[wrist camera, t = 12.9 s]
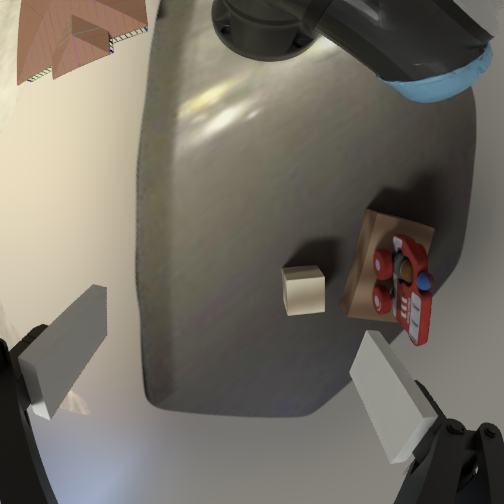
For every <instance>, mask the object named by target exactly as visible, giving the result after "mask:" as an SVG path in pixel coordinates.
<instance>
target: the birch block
mask: <svg viewBox="0 0 504 504" xmlns="http://www.w3.org/2000/svg"><path fill="white" fill-rule="evenodd" d="M282 278H283V298H284V303H285V307H286V311H287V314H288V315H298V314H307V313H316V312H325V276H324V275H323V273H322V272H321V271H320V269H319V268H318V266H317V265H310V266H299V267H288V268H282Z"/></svg>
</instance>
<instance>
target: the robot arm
mask: <svg viewBox="0 0 504 504" xmlns="http://www.w3.org/2000/svg"><path fill="white" fill-rule="evenodd" d="M503 7H504V0H214V1H213V5H212V12H211V14H212V21H213V26H214V29H215V32H216V34H217V36H218V37H219V39H220V40H221V41H222V42H223V43H224V44H225V45H226V46H227V47H228V48H229V49H230V50H232V51H233V52H235V53H237V54H239V55H241V56H243V57H246V58H249V59H252V60H257V61H265V62H274V61H283V60H287V59H290V58H293V57H296V56H298V55H300V54H302V53H303V52H305V51H306V50H307V49H308V48H310V47H311V46H312V44H313V43H314V42H315V40H316V39H317V37H318V35H319V34H321V35H323V36H324V37H326V38H327V39H329V40H331V41H332V42H333V43H335V44H336V45H338V46H339V47H341V48H342V49H344V50H345V51H346V52H348V53H349V54H351V55H352V56H353V57H355V58H356V59H357V60H359V61H360V62H361V63H363V64H364V65H365V66H367V67H368V68H369V69H371V70H372V71H373V72H374V73H376V76H377V77H378V78H379V79H380V80H381V81H383V82H385V83H387V84H389V85H391V86H392V87H393V88H395V89H396V90H397V91H398V92H400V93H401V94H402V95H403V96H405V97H406V98H408V99H410V100H412V101H416V102H420V103H432V102H438V101H441V100H444V99H447V98H450V97H452V96H454V95H456V94H458V93H460V92H462V91H464V90H465V89H467V88H468V87H470V86H471V85H472V84H473V83H475V82H476V81H477V80H478V75H479V74H481V73H484V72H485V71H486V70H487V69H488V67H489V65H490V63H491V60H492V56H493V53H492V49H491V46H490V42H489V41H490V40H491V39H492V38H493V37H495V36H496V35H497V34H498V21H497V15H498V11H499V10H500V9H502V8H503ZM106 291H107V288H106V287H102V286H98V285H94V284H93V285H92V286H91V287H90V288H89V289H87V290H86V291H85V292H84V293H83V294H82V295H81V296H80V297H79V298H78V299H77V300H75V301H74V302H73V303H72V304H71V305H70V306H69V307H68V308H67V309H66V310H65V311H64V312H63V313H62V314H61V315H60V316H59V317H58V318H56V320H54V321H53V322H52V324H50V325H49V326H48V325H45V324H41V325H40V326H37V327H35V328H33V329H32V330H31V331H30V332H29V333H28V334H27V336H25V337H24V338H22V341H19V342H18V343H17V344H16V345H15V346H14V347H13V348H12V349H11V350H10V351H8V346H7V344H6V342H5V341H4V340H3V339H1V338H0V501H1V504H58V502H57V500H56V497H55V495H54V493H53V490H52V488H51V485H50V483H49V480H48V478H47V475H46V472H45V469H44V466H43V463H42V460H41V458H40V454H39V451H38V448H37V445H36V442H35V438H34V435H33V431H32V427H31V424H30V420H29V416H28V413H27V410H26V409H27V408H28V406H29V405H30V404H31V405H32V408H33V410H34V413H35V414H37V415H39V416H41V417H44V418H46V419H49V420H51V419H52V417H53V416H54V414H55V412H56V411H57V409H58V408H59V406H60V404H61V403H62V401H63V400H64V398H65V397H66V395H67V393H68V392H69V390H70V389H71V387H72V386H73V384H74V383H75V381H76V380H77V378H78V377H79V375H80V374H81V372H82V371H83V369H84V368H85V366H86V365H87V363H88V362H89V360H90V359H91V357H92V356H93V354H94V353H95V352H96V350H97V349H98V347H99V346H100V344H101V343H102V341H103V340H104V339H105V337H106V336H107V308H106V307H107V306H106V304H107V303H106V300H107V292H106ZM349 373H350V375H351V377H352V379H353V381H354V383H355V385H356V388H357V390H358V392H359V394H360V397H361V399H362V401H363V403H364V405H365V408H366V410H367V412H368V414H369V416H370V419H371V421H372V423H373V425H374V427H375V430H376V432H377V434H378V437H379V439H380V441H381V443H382V446H383V448H384V450H385V453H386V455H387V457H388V459H389V462H390V464H393V463H399V462H405V461H406V460H407V459H408V457H409V456H410V455H411V453H413V455H414V457H415V459H414V461H413V462H412V463H411V464H410V465H409V467H408V468H407V469H406V470H405V471H404V473H403V475H405V474H406V473H407V472H408V473H407V475H406V477H405V480H404V482H403V484H402V487H401V489H400V491H399V493H398V495H397V497H396V500H395V502H394V504H504V442H503V438H502V434H501V432H500V430H499V429H498V428H497V426H495V425H494V424H490V423H482V424H481V425H480V427H479V428H478V429H477V431H471V430H466V428H465V427H464V425H463V424H462V423H461V422H459V421H457V420H455V419H447V418H446V417H445V415H444V414H443V412H442V411H441V409H440V408H439V406H438V405H437V404H436V402H435V401H433V398H432V396H431V395H429V392H428V391H427V389H426V388H425V387H424V386H423V385H422V384H421V383H420V382H418V381H417V380H413V378H412V377H411V375H410V374H409V372H408V371H407V370H406V368H405V367H404V365H403V364H402V363H401V361H400V360H399V358H398V357H397V356H396V354H395V353H394V351H393V350H392V349H391V348H390V346H389V344H388V343H387V342H386V340H385V339H384V338H383V336H382V335H381V334H380V332H379V331H370V330H366V333H365V335H364V338H363V340H362V343H361V345H360V348H359V350H358V353H357V355H356V358H355V360H354V363H353V365H352V367H351V370H350V372H349ZM477 467H478V471H477V473H476V472H475V469H476V468H477Z"/></svg>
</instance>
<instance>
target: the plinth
mask: <svg viewBox="0 0 504 504" xmlns="http://www.w3.org/2000/svg"><path fill="white" fill-rule="evenodd" d="M434 230H435V229H434V228H432V227H429V226H427V225H424V224H422V223H419V222H415V221H412V220H408V219H404V218H401V217H397V216H393V215H389V214H386V213H382V212H378V211H374V210H370V209H366V211H365V216H364V220H363V224H362V228H361V232H360V236H359V239H358V243H357V247H356V251H355V254H354V258H353V261H352V265H351V269H350V272H349V275H348V279H347V282H346V286H345V289H344V292H343V295H342V299H341V302H340V306H341V308H342V309H343V311H344V313H345V314H346V316H347V317H353V318H361V319H370V320H379V321H388V322H398V321H397V320H396V319H395V317H394V316H393V311H392V307H391V310H390V312H389V313H388V314H383V315H379V314H377V313H376V311H375V309H374V305H373V300H372V291H373V288H374V287H375V286H377V285H382V284H383V285H386V286H387V288H388V290H389V292H390V294H391V292H392V290H393V275H392V277H391V278H389V279H385V280H380V279H378V277H377V276H376V274H375V271H374V266H373V255H374V252H375V251H376V250H378V249H383V248H385V249H387V250H388V251H389V252H390V254H391V257H392V254H393V242H392V240H393V236H394V235H395V234H405V235H407V236H409V237H411V238H413V239H414V240H415V242H416V243H420V244H422V245H423V246H424V248H425V250H426V252H427V255H428V252H429V248H430V245H431V241H432V238H433V234H434ZM391 302H392V301H391ZM398 323H399V322H398Z"/></svg>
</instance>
